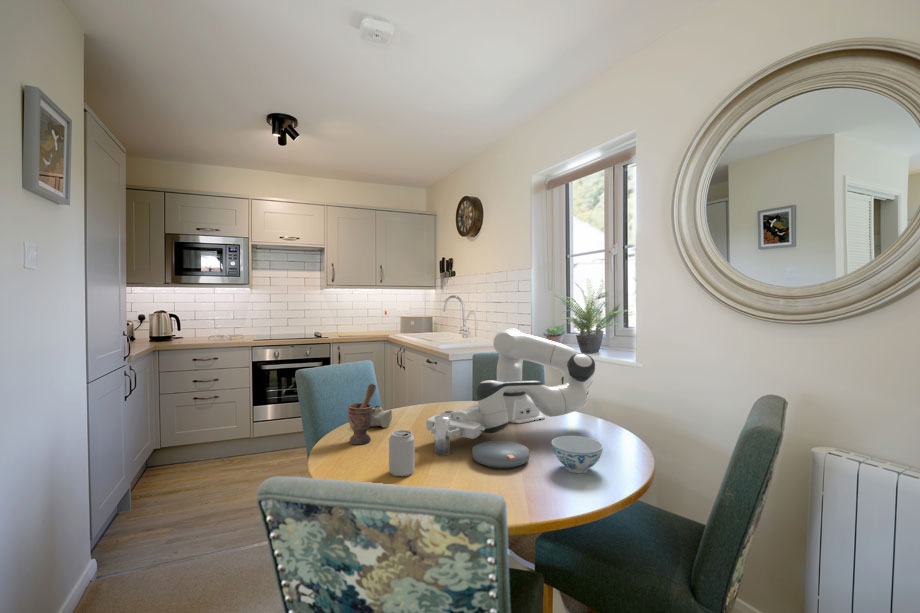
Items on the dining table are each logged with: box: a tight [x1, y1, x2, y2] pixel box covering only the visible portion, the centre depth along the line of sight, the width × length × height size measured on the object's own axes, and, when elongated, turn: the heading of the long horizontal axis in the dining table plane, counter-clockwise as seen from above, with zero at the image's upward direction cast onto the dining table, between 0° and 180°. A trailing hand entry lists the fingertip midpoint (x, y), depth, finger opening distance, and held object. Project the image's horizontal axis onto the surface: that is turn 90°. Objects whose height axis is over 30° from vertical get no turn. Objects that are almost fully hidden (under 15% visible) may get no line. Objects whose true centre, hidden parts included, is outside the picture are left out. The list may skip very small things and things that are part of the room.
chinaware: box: [551, 435, 604, 474], centre depth 129 cm, size 15×15×8 cm
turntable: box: [472, 440, 530, 468], centre depth 136 cm, size 18×18×3 cm
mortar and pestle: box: [347, 383, 377, 445], centre depth 156 cm, size 12×9×20 cm
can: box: [388, 429, 416, 478], centre depth 126 cm, size 8×8×12 cm
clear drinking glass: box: [434, 415, 451, 457], centre depth 142 cm, size 5×5×12 cm
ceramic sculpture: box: [370, 405, 393, 429], centre depth 174 cm, size 11×9×15 cm
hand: (440, 432), depth 142 cm, fingers closed on clear drinking glass, 5 cm apart
